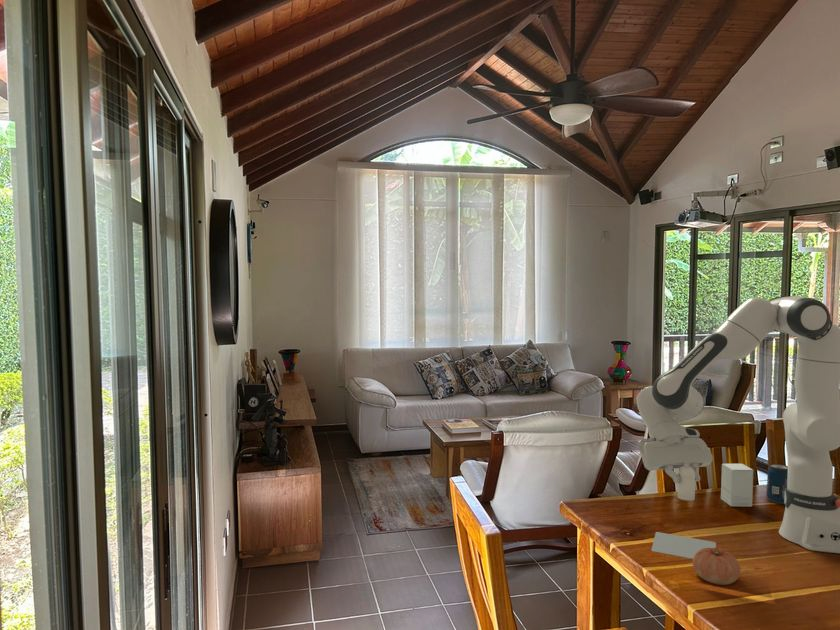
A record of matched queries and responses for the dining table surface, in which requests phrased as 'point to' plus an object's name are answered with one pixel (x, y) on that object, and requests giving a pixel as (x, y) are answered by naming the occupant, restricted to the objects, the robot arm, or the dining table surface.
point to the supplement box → (737, 485)
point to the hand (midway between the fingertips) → (687, 481)
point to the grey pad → (679, 545)
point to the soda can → (777, 482)
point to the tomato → (716, 566)
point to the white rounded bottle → (686, 483)
